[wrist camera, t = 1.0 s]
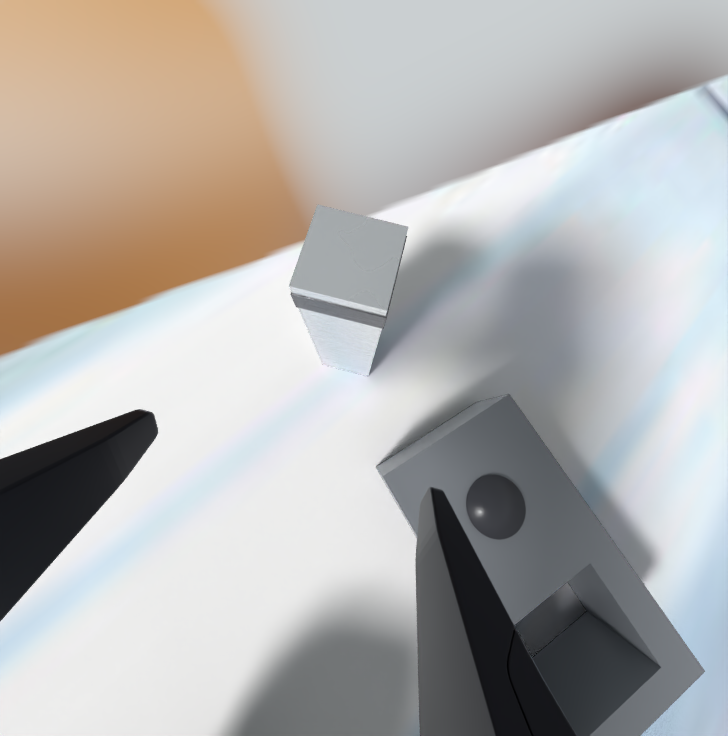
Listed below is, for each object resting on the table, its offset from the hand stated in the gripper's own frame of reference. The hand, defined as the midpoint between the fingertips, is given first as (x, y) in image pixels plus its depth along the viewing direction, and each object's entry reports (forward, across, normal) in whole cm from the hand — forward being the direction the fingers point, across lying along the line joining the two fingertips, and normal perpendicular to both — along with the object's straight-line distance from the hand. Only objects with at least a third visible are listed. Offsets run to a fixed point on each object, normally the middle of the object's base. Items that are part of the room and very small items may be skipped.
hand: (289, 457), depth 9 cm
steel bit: (+15, 0, +4) cm, 16 cm away
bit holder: (+7, -14, +12) cm, 20 cm away
